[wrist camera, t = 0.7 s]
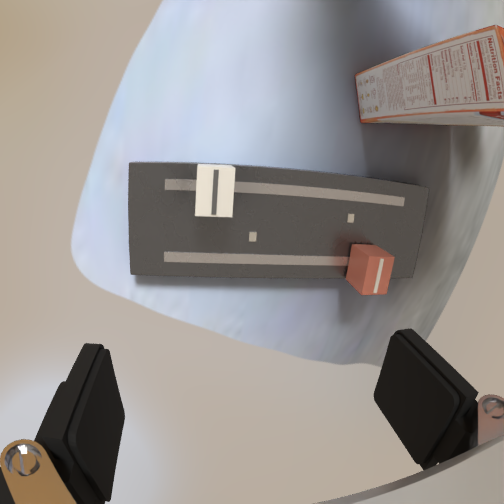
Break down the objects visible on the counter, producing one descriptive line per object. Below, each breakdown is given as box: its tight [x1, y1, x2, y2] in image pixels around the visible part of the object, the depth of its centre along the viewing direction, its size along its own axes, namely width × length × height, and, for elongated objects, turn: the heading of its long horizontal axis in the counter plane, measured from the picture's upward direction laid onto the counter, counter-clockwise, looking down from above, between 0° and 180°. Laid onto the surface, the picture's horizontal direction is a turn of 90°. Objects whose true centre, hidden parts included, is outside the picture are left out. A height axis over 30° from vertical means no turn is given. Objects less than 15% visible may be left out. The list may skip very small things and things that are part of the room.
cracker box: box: [355, 25, 504, 127], centre depth 21 cm, size 14×6×21 cm, turn 97°
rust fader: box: [346, 244, 395, 295], centre depth 32 cm, size 4×3×4 cm
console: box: [128, 162, 429, 278], centre depth 33 cm, size 11×32×2 cm, turn 86°
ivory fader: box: [195, 164, 235, 217], centre depth 27 cm, size 4×3×4 cm
